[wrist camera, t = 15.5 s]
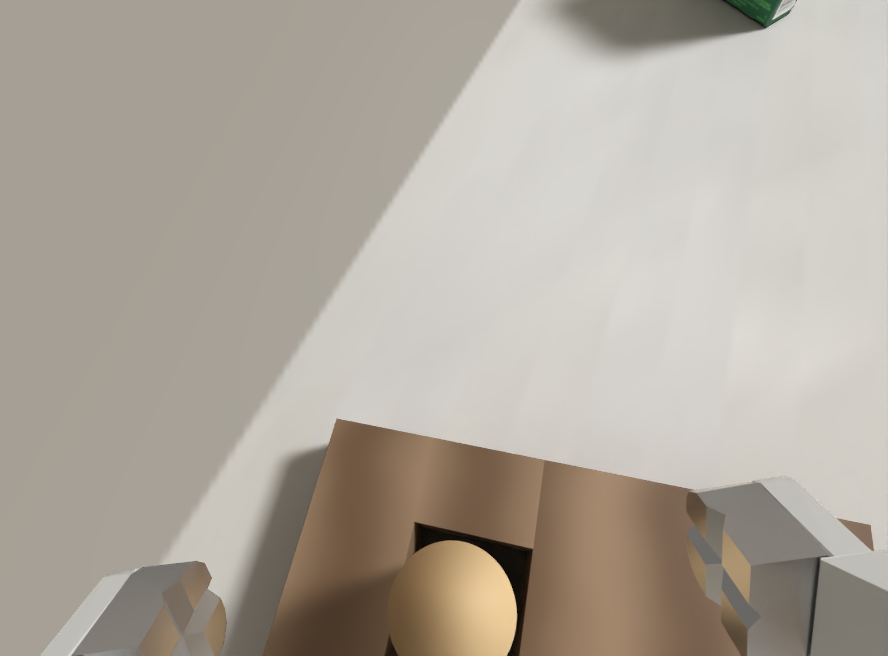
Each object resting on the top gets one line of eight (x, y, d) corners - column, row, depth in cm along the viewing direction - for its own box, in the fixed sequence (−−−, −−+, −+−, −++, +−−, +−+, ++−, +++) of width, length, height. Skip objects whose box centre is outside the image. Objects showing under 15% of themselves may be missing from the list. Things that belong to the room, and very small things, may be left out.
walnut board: (816, 531, 22) (870, 524, 19) (849, 891, 18) (929, 961, 14) (354, 436, 26) (336, 418, 23) (273, 714, 21) (236, 740, 18)
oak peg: (513, 558, 23) (531, 552, 14) (499, 653, 21) (510, 715, 12) (433, 539, 24) (401, 521, 15) (414, 631, 22) (364, 674, 13)
